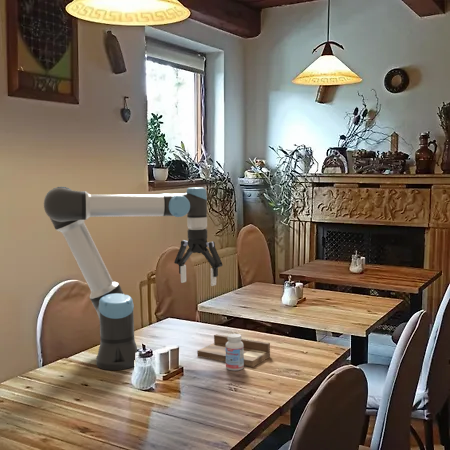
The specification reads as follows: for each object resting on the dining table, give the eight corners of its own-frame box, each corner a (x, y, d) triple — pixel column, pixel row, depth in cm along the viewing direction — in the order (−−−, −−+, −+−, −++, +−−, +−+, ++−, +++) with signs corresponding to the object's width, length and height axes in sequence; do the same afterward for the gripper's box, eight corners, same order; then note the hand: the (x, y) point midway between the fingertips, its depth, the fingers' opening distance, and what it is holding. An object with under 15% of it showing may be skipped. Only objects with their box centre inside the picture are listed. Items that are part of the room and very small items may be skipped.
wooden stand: (252, 366, 199) (252, 352, 198) (197, 356, 211) (197, 342, 211) (270, 356, 209) (269, 343, 208) (216, 347, 221) (216, 334, 221)
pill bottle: (222, 369, 197) (221, 336, 196) (231, 364, 202) (230, 332, 201) (239, 372, 194) (238, 338, 193) (247, 366, 199) (246, 334, 198)
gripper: (230, 228, 220) (231, 284, 222) (175, 226, 233) (177, 279, 234) (220, 230, 214) (221, 288, 216) (164, 228, 226) (166, 282, 228)
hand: (198, 283), depth 225 cm, fingers open, 13 cm apart
